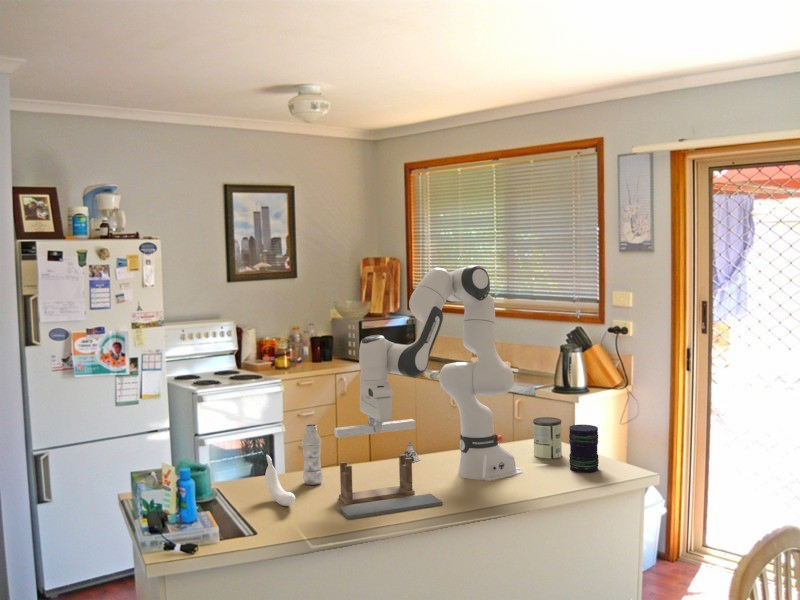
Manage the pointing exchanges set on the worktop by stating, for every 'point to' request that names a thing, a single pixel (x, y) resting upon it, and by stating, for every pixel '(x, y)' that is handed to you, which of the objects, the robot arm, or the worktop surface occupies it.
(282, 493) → the banana
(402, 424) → the rail
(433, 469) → the worktop surface
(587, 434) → the storage jar
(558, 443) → the coffee can
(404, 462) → the stand
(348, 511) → the mat
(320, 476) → the plastic bottle
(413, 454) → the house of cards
